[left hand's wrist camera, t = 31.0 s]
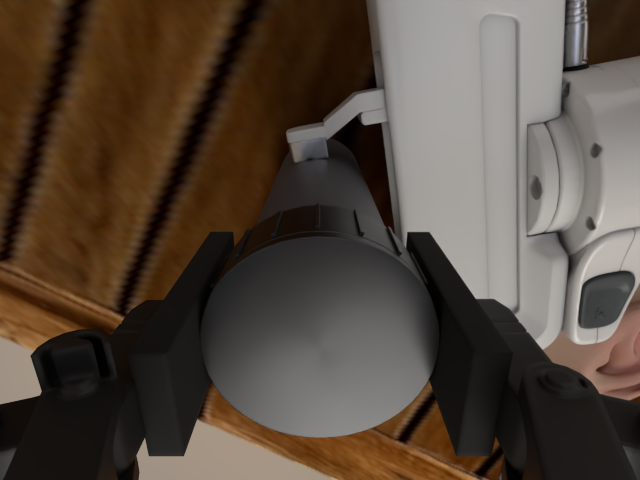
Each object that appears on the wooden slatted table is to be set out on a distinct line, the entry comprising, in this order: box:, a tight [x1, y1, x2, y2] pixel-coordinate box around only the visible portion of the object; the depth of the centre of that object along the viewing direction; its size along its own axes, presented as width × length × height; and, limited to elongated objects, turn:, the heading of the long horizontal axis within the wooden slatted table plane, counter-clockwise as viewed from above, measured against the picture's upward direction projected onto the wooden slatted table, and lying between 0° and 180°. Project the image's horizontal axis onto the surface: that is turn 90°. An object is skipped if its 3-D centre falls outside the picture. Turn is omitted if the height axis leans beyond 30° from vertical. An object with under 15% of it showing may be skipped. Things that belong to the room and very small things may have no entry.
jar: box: [256, 138, 384, 225], centre depth 19 cm, size 5×5×17 cm
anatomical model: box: [543, 284, 640, 400], centre depth 29 cm, size 13×4×12 cm
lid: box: [199, 203, 441, 438], centre depth 11 cm, size 6×6×2 cm
